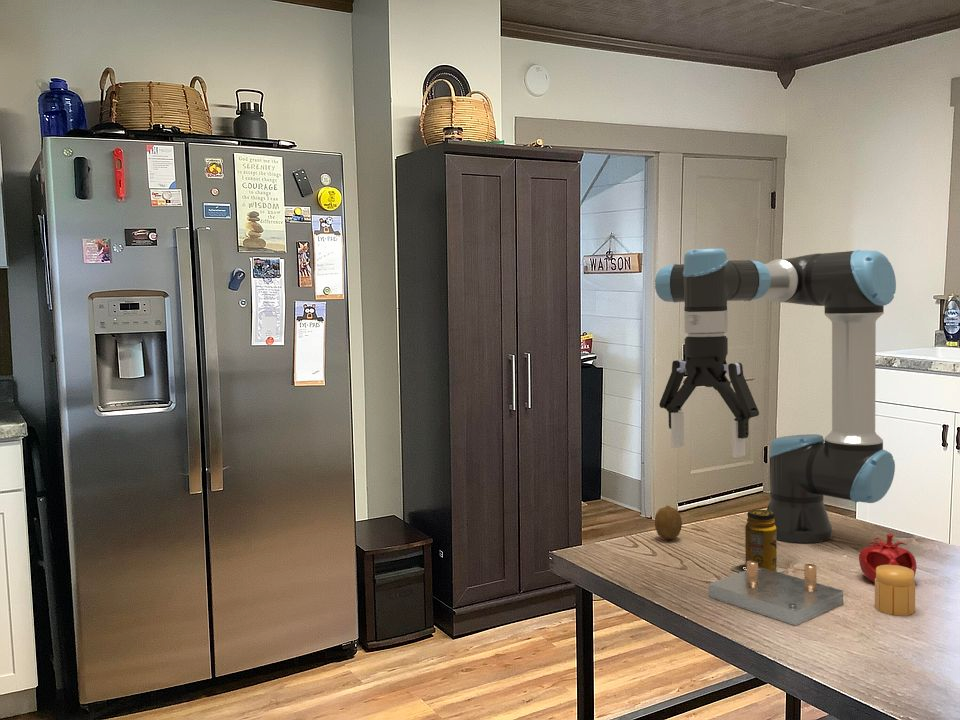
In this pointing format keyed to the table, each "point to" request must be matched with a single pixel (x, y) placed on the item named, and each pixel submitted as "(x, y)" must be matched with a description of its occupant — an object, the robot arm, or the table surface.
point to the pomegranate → (884, 557)
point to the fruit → (668, 522)
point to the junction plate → (777, 593)
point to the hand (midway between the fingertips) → (707, 451)
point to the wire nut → (895, 590)
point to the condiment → (760, 541)
